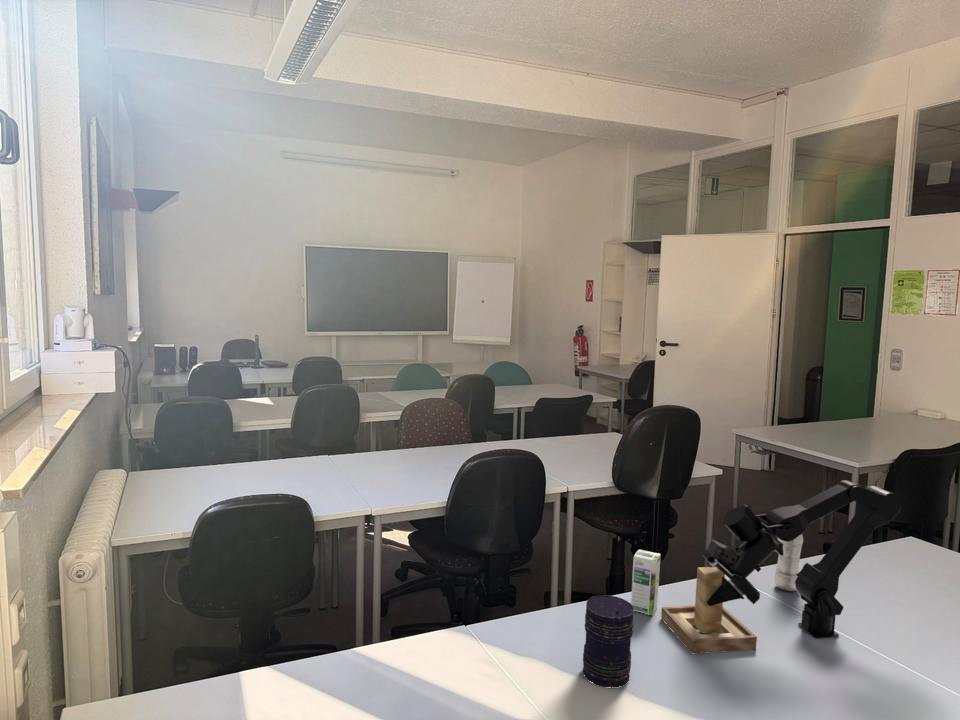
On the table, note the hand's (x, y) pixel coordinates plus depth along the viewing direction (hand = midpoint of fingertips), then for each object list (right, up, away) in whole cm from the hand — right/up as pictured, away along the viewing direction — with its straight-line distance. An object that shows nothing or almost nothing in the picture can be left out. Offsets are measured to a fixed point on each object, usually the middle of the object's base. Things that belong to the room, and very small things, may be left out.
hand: (703, 599), depth 151 cm
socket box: (+1, -8, +1) cm, 9 cm away
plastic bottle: (+32, -7, +27) cm, 42 cm away
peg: (+1, -7, +1) cm, 7 cm away
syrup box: (-11, -7, +12) cm, 18 cm away
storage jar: (-26, -10, -17) cm, 33 cm away
